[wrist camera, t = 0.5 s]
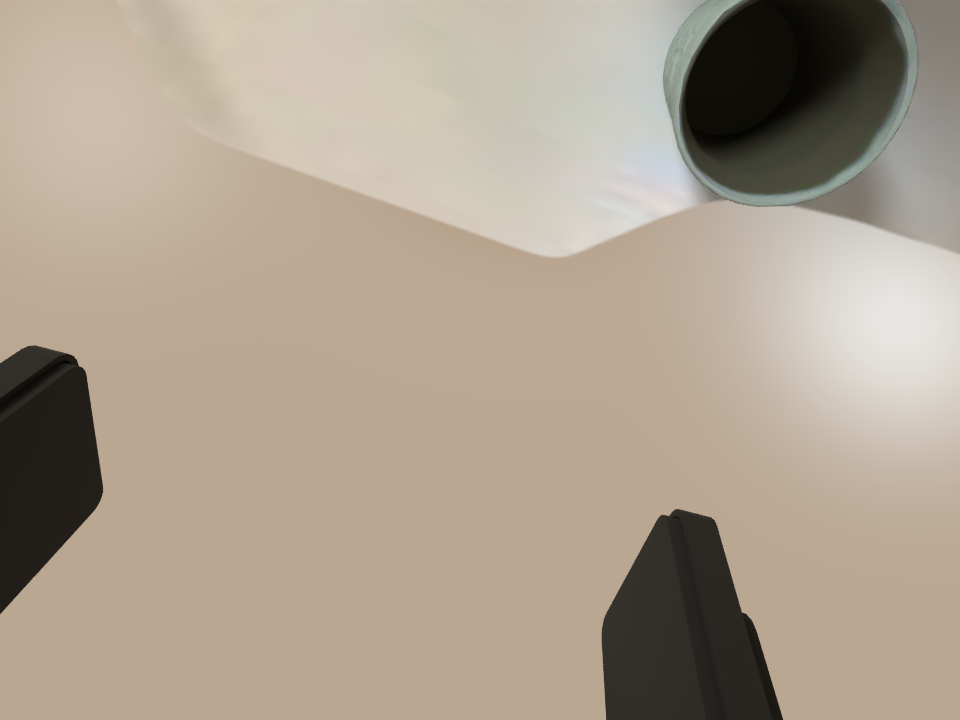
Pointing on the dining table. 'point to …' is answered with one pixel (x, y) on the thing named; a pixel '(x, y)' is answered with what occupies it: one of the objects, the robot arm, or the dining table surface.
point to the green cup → (788, 93)
